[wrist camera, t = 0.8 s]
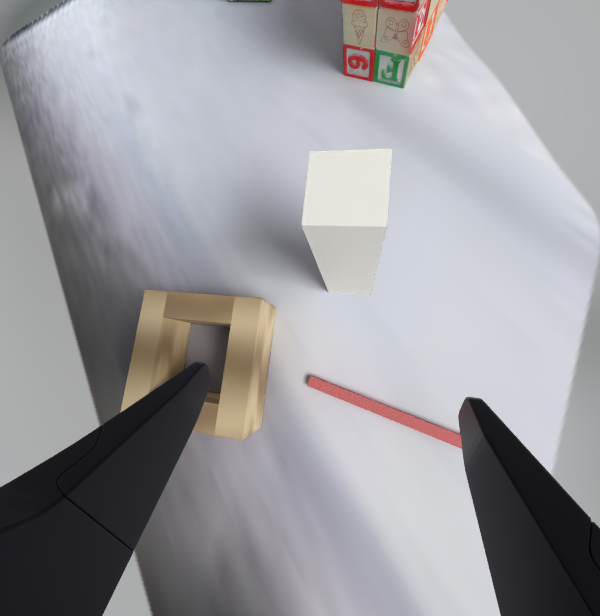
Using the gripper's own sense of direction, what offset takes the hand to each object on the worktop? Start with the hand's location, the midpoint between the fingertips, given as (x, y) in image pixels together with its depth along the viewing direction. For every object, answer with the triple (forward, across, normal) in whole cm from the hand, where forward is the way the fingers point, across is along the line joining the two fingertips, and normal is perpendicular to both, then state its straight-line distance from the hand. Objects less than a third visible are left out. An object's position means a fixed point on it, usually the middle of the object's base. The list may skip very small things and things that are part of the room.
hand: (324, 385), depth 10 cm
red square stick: (+7, -4, +11) cm, 14 cm away
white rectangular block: (+15, 0, +4) cm, 16 cm away
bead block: (+9, +11, +10) cm, 17 cm away
